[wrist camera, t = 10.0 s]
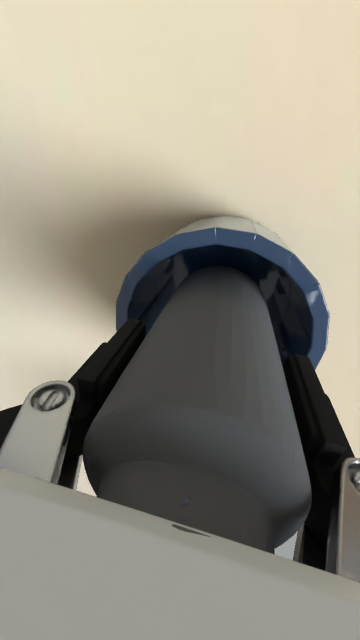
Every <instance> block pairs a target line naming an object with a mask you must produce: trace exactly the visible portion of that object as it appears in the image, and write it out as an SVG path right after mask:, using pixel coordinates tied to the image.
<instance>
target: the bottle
mask: <svg viewBox="0 0 360 640" xmlns="http://www.w3.org/2000/svg"><path fill="white" fill-rule="evenodd" d="M83 462H84V466H85V470H86V473H87V477H88V480H89V482H90V484H91V486H92V488H93V490H94V492H95V494H96V495H97V497H98V498H101V499H104V500H107V501H110V502H113V503H117V504H120V505H123V506H126V507H129V508H132V509H136V510H139V511H142V512H145V513H148V514H151V515H154V516H157V517H160V518H164V519H167V520H170V521H173V522H176V523H179V524H182V525H185V526H188V527H191V528H195V529H198V530H201V531H204V532H207V533H210V534H213V535H216V536H219V537H222V538H225V539H229V540H232V541H235V542H238V543H241V544H244V545H247V546H250V547H253V548H256V549H259V550H262V551H265V552H268V553H271V554H274V549H275V548H277V547H278V546H280V545H282V544H283V543H284V542H286V541H287V540H288V539H289V538H291V537H292V536H293V535H294V534H295V533H296V532H297V531H298V530H299V528H300V527H301V526H302V525H303V523H304V521H305V519H306V518H307V516H308V513H309V510H310V507H311V501H312V492H311V485H310V479H309V474H308V470H307V465H306V461H305V457H304V452H303V448H302V444H301V439H300V435H299V431H298V427H297V423H296V419H295V415H294V411H293V407H292V403H291V399H290V395H289V391H288V387H287V382H286V378H285V374H284V370H283V366H282V362H281V358H280V354H279V350H278V346H277V342H276V339H275V335H274V331H273V327H272V323H271V319H270V315H269V312H268V308H267V304H266V301H265V298H264V295H263V293H262V291H261V289H260V288H259V286H258V285H257V284H256V282H255V281H254V280H253V279H252V278H251V277H249V276H248V275H246V274H245V273H243V272H241V271H239V270H237V269H234V268H231V267H225V266H211V267H206V268H202V269H199V270H197V271H195V272H193V273H192V274H190V275H189V276H187V277H186V278H185V279H184V280H183V281H182V282H181V283H180V285H179V286H178V287H177V289H176V290H175V292H174V293H173V295H172V296H171V298H170V299H169V301H168V302H167V304H166V306H165V307H164V309H163V310H162V312H161V313H160V315H159V317H158V318H157V320H156V321H155V323H154V324H153V326H152V327H151V329H150V331H149V332H148V334H147V335H146V337H145V338H144V340H143V342H142V343H141V345H140V346H139V348H138V349H137V351H136V352H135V354H134V356H133V357H132V359H131V360H130V362H129V363H128V365H127V367H126V368H125V370H124V371H123V373H122V374H121V376H120V378H119V379H118V381H117V383H116V384H115V386H114V387H113V389H112V391H111V392H110V394H109V396H108V397H107V399H106V401H105V402H104V404H103V405H102V407H101V409H100V410H99V412H98V414H97V415H96V417H95V418H94V420H93V422H92V424H91V426H90V428H89V430H88V432H87V434H86V436H85V438H84V444H83ZM171 526H173V527H175V528H177V529H179V530H182V531H185V532H189V533H194V534H199V535H203V536H207V535H204V534H202V533H199V532H196V531H193V530H190V529H187V528H184V527H181V526H178V525H175V524H173V525H171ZM208 537H210V536H208ZM274 555H275V554H274Z"/></svg>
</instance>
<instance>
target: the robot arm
mask: <svg viewBox="0 0 360 640" xmlns="http://www.w3.org/2000/svg"><path fill="white" fill-rule="evenodd" d="M145 334H146V325H144V324H142V321H140V320H136V319H131V318H129V319H128V320H127V321H126V322H125V323H124V324H123V325H122V327H121V328H120V329H119V330H118V331H117V332H116V334H115V335H114V336H113V337H112V338H111V339H110V340H109V342H108V343H106V342H105V343H102V344H101V345H100V346H99V347H98V348H97V350H96V351H95V352H94V353H93V354H92V355H91V356H90V357H89V359H88V360H87V361H86V362H85V363H84V364H83V365H82V366H81V367H80V369H79V370H78V371H77V372H76V373H75V374H74V375H73V376H72V377H71V379H70V380H69V381H68V382H65V381H58V380H57V381H49V382H46V383H43V384H41V385H39V386H37V387H36V388H34V389H33V390H32V391H31V392H30V393H29V394H28V396H27V397H26V399H25V401H24V403H23V404H22V405H19V406H15V407H12V408H9V409H6V410H2V411H0V640H360V458H355V457H354V454H353V452H352V450H351V447H350V445H349V443H348V440H347V438H346V436H345V434H344V431H343V429H342V427H341V424H340V422H339V420H338V418H337V415H336V413H335V411H334V408H333V406H332V404H331V401H330V399H329V397H328V396H327V395H326V394H325V393H324V391H323V389H322V386H321V384H320V382H319V379H318V377H317V374H316V372H315V370H314V367H313V365H312V363H311V360H310V358H309V357H307V356H302V355H298V354H293V355H292V356H291V357H290V356H287V357H286V359H285V361H284V364H283V370H284V374H285V378H286V382H287V387H288V391H289V395H290V399H291V403H292V407H293V411H294V415H295V419H296V423H297V427H298V431H299V435H300V439H301V444H302V448H303V452H304V457H305V461H306V465H307V470H308V474H309V479H310V485H311V492H312V501H311V507H310V510H309V513H308V516H307V518H306V519H305V521H304V523H303V525H302V526H301V527H300V528H299V530H298V533H297V539H296V545H295V551H294V557H293V560H290V559H287V558H284V557H281V556H278V555H274V554H271V553H268V552H265V551H262V550H259V549H256V548H253V547H250V546H247V545H244V544H241V543H238V542H235V541H232V540H229V539H225V538H222V537H219V536H216V535H213V534H210V533H207V532H204V531H201V530H198V529H195V528H191V527H188V526H185V525H182V524H179V523H176V522H173V521H170V520H167V519H164V518H160V517H157V516H154V515H151V514H148V513H145V512H142V511H139V510H136V509H132V508H129V507H126V506H123V505H120V504H117V503H113V502H110V501H107V500H104V499H101V498H98V497H95V496H91V495H88V494H85V493H82V492H79V491H76V488H77V483H78V478H79V472H80V467H81V462H82V457H83V444H84V438H85V436H86V434H87V432H88V430H89V428H90V426H91V424H92V422H93V420H94V418H95V417H96V415H97V414H98V412H99V410H100V409H101V407H102V405H103V404H104V402H105V401H106V399H107V397H108V396H109V394H110V392H111V391H112V389H113V387H114V386H115V384H116V383H117V381H118V379H119V378H120V376H121V374H122V373H123V371H124V370H125V368H126V367H127V365H128V363H129V362H130V360H131V359H132V357H133V356H134V354H135V352H136V351H137V349H138V348H139V346H140V345H141V343H142V342H143V340H144V338H145ZM173 524H175V525H178V526H181V527H184V528H187V529H190V530H193V531H196V532H199V533H202V534H204V535H207V536H203V535H199V534H194V533H189V532H185V531H182V530H179V529H177V528H175V527H173V526H171V525H173ZM208 536H210V537H208Z"/></svg>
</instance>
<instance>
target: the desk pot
mask: <svg viewBox="0 0 360 640" xmlns="http://www.w3.org/2000/svg"><path fill="white" fill-rule="evenodd" d="M211 266H225V267H231V268H234V269H237V270H239V271H241V272H243V273H245V274H246V275H248V276H249V277H251V278H252V279H253V280H254V281H255V282H256V284H257V285H258V286H259V288H260V289H261V291H262V293H263V295H264V298H265V301H266V304H267V308H268V312H269V315H270V319H271V323H272V327H273V331H274V335H275V339H276V342H277V346H278V350H279V354H280V358H281V362H282V366H283V364H284V361H285V359H286V357H287V356H290V357H291V356H292V355H293V354H298V355H302V356H307V357H309V358H310V360H311V363H312V365H313V367H314V370H315V369H316V367H317V365H318V363H319V362H320V360H321V358H322V356H323V354H324V352H325V350H326V347H327V341H328V329H329V318H330V317H329V315H330V314H329V311H328V308H327V305H326V302H325V299H324V296H323V293H322V290H321V287H320V284H319V282H318V280H317V279H316V278H315V277H314V276H313V275H312V273H311V272H310V271H309V270H308V269H307V268H306V267H305V265H304V264H303V263H302V262H301V261H300V260H299V258H298V257H297V256H296V255H295V254H294V253H293V252H292V251H291V249H290V248H289V247H288V246H287V245H286V244H285V243H284V242H283V241H282V240H281V238H280V237H279V236H278V235H277V234H276V233H274V232H273V231H271V230H269V229H268V228H266V227H264V226H262V225H261V224H259V223H256V222H254V221H252V220H248V219H244V218H240V217H232V216H218V217H211V218H206V219H202V220H198V221H195V222H193V223H191V224H189V225H188V226H186V227H184V228H182V229H181V230H179V231H177V232H175V233H174V234H172V235H171V236H169V237H167V238H166V239H164V240H163V241H161V242H160V243H158V244H157V245H155V246H154V247H152V248H151V249H149V250H148V251H147V252H145V253H144V254H143V255H142V257H141V258H140V259H139V260H138V261H137V263H136V264H135V265H134V266H133V267H132V269H131V270H130V271H129V272H128V273H127V275H126V277H125V278H124V281H123V284H122V287H121V290H120V293H119V296H118V298H117V301H116V330H117V331H118V330H119V329H120V328H121V327H122V325H123V324H124V323H125V322H126V321H127V320H128V319H129V318H131V319H136V320H140V321H142V324H144V325H146V334H145V337H146V335H147V334H148V332H149V331H150V329H151V327H152V326H153V324H154V323H155V321H156V320H157V318H158V317H159V315H160V313H161V312H162V310H163V309H164V307H165V306H166V304H167V302H168V301H169V299H170V298H171V296H172V295H173V293H174V292H175V290H176V289H177V287H178V286H179V285H180V283H181V282H182V281H183V280H184V279H185V278H186V277H187V276H189V275H190V274H192V273H193V272H195V271H197V270H199V269H202V268H206V267H211Z"/></svg>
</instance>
